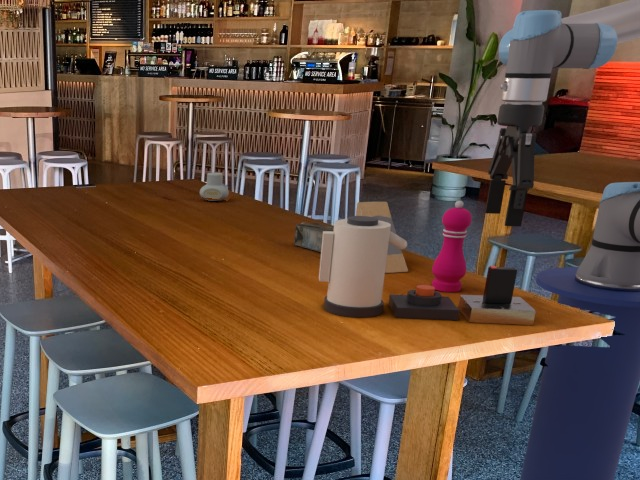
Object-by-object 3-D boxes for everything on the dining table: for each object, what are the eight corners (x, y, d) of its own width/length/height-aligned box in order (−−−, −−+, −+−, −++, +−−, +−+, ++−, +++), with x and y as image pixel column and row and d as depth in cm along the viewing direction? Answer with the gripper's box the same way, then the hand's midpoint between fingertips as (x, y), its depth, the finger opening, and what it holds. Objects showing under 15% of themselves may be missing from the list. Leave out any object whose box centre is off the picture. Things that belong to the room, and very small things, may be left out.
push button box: (446, 306, 168) (449, 288, 167) (457, 320, 159) (460, 301, 157) (388, 304, 170) (390, 286, 168) (395, 317, 161) (398, 298, 159)
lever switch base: (517, 310, 165) (520, 296, 164) (533, 325, 156) (536, 309, 155) (457, 308, 167) (460, 293, 166) (469, 322, 158) (471, 307, 157)
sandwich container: (377, 273, 195) (384, 212, 189) (350, 259, 209) (356, 202, 203) (409, 271, 196) (418, 211, 190) (380, 258, 210) (387, 201, 204)
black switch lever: (508, 301, 161) (514, 266, 158) (511, 303, 159) (517, 268, 156) (482, 300, 162) (488, 265, 159) (485, 302, 160) (491, 267, 157)
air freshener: (230, 199, 301) (231, 172, 297) (226, 203, 294) (227, 175, 290) (201, 198, 304) (202, 171, 300) (197, 201, 296) (198, 174, 293)
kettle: (393, 303, 171) (405, 214, 163) (403, 319, 160) (416, 225, 152) (314, 299, 173) (322, 212, 166) (318, 315, 162) (327, 222, 155)
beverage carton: (314, 242, 228) (316, 219, 226) (362, 256, 213) (365, 231, 210) (292, 245, 225) (294, 222, 222) (339, 259, 209) (342, 234, 207)
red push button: (431, 293, 164) (432, 285, 164) (435, 298, 161) (436, 289, 160) (413, 292, 165) (414, 284, 164) (416, 297, 162) (418, 289, 161)
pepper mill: (442, 283, 186) (455, 196, 179) (469, 290, 181) (484, 201, 173) (422, 287, 182) (435, 199, 175) (449, 294, 177) (464, 204, 169)
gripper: (483, 100, 157) (466, 208, 165) (522, 106, 134) (500, 231, 142) (523, 100, 156) (504, 209, 164) (569, 106, 133) (544, 232, 141)
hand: (502, 219), depth 153 cm, fingers open, 13 cm apart
